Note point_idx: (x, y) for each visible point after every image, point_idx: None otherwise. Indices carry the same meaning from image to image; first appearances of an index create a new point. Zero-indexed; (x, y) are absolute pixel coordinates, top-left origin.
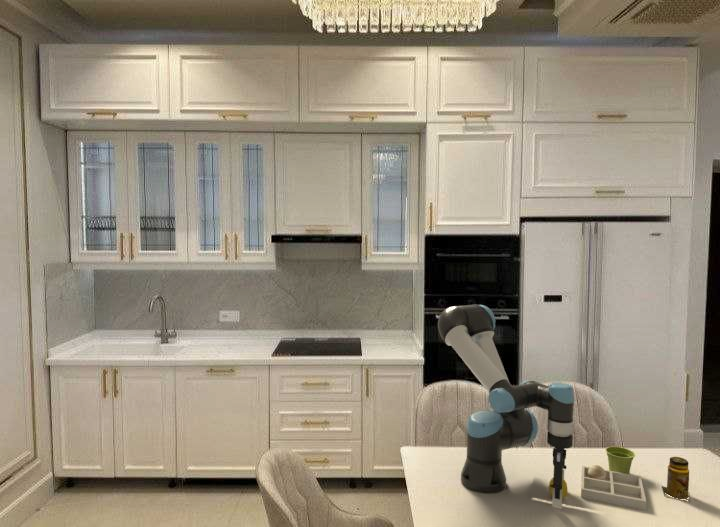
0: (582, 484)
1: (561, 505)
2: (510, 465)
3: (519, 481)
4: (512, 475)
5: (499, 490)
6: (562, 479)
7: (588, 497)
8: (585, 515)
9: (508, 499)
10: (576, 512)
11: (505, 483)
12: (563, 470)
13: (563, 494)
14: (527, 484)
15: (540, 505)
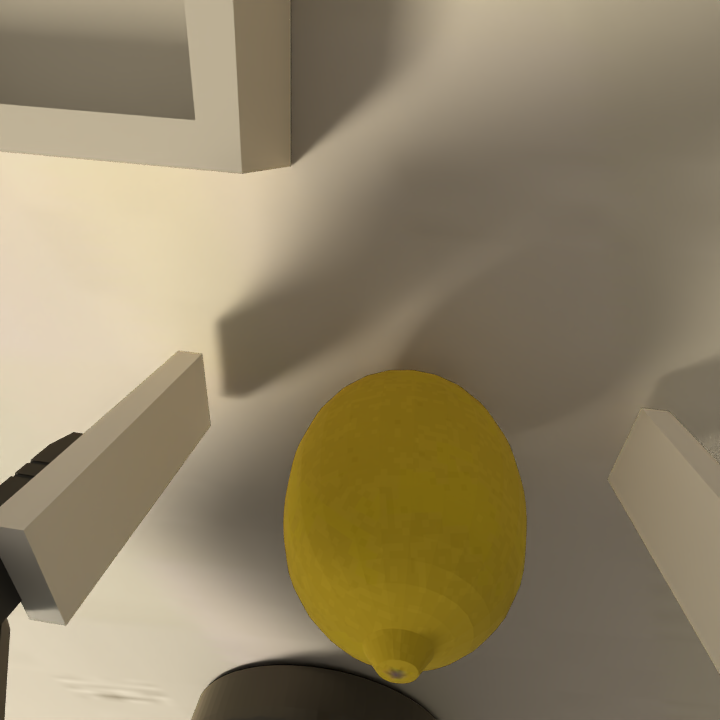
0: (62, 138)
1: (690, 438)
2: (11, 619)
3: (204, 601)
4: (143, 623)
5: (408, 705)
6: (425, 590)
7: (274, 52)
8: (706, 135)
9: (492, 668)
10: (633, 244)
11: (338, 705)
12: (30, 538)
13: (498, 429)
14: (221, 567)
15: (537, 527)
